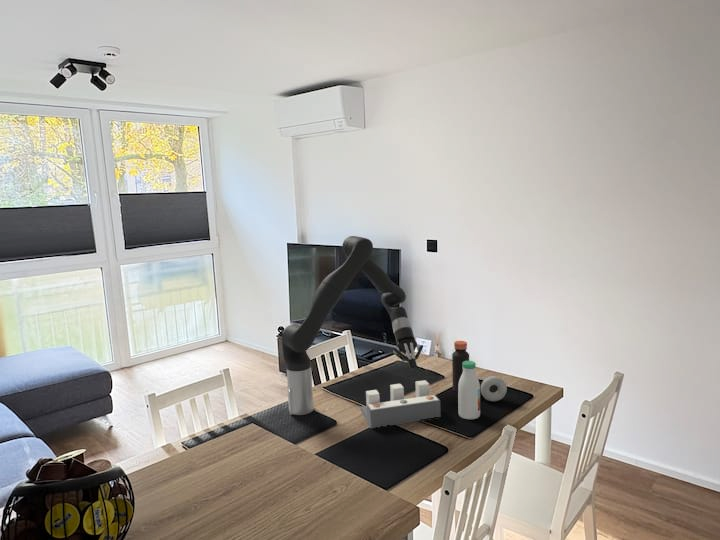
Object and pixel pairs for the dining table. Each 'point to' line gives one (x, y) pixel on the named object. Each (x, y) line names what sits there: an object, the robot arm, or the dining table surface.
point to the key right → (422, 388)
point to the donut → (496, 395)
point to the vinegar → (458, 361)
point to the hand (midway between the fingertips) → (413, 369)
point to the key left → (372, 397)
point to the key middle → (396, 392)
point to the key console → (401, 411)
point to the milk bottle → (469, 392)
